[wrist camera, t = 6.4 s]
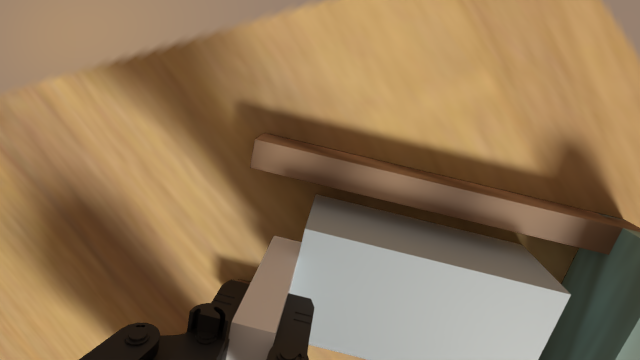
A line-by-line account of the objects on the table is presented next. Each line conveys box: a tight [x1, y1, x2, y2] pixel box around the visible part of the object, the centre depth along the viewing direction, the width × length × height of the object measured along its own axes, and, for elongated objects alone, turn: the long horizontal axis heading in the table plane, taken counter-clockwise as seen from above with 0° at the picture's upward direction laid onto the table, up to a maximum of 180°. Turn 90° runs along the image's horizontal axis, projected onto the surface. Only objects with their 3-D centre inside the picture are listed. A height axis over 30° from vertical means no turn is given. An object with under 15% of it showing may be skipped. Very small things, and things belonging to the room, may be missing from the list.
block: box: [290, 194, 571, 360], centre depth 19 cm, size 12×6×5 cm, turn 77°
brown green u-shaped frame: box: [238, 133, 640, 360], centre depth 19 cm, size 20×11×5 cm, turn 77°
